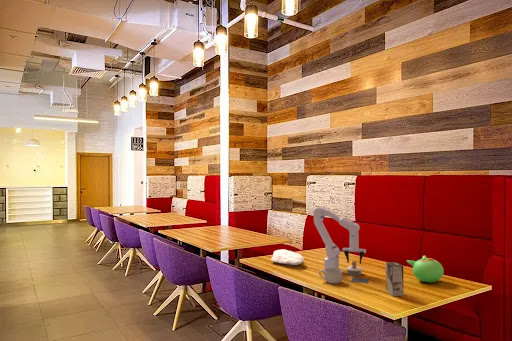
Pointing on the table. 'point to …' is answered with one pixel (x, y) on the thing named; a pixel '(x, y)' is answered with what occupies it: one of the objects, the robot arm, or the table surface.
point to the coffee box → (394, 279)
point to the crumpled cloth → (287, 257)
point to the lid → (354, 267)
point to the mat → (360, 280)
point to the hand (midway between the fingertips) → (354, 263)
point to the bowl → (354, 273)
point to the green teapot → (427, 269)
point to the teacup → (332, 275)
